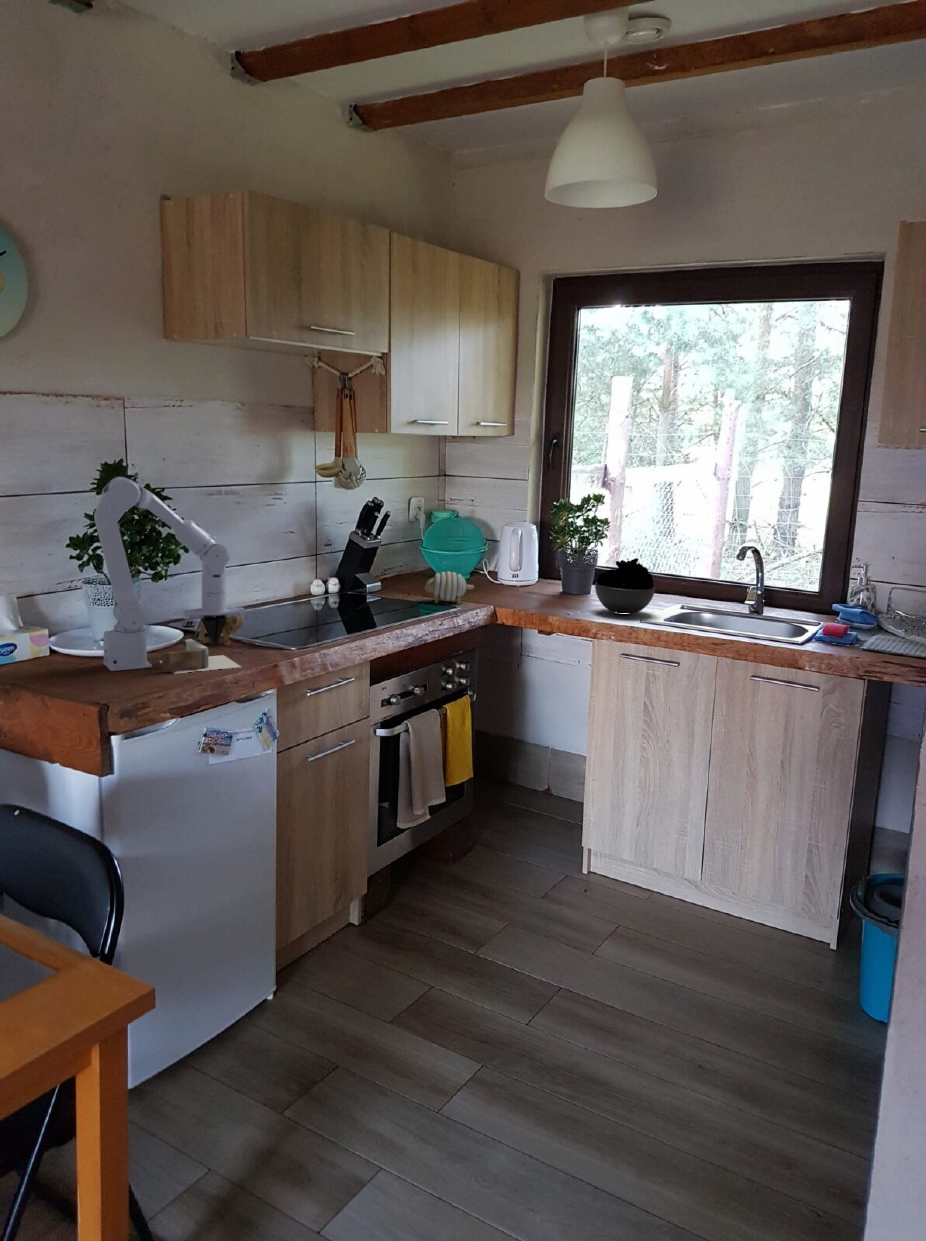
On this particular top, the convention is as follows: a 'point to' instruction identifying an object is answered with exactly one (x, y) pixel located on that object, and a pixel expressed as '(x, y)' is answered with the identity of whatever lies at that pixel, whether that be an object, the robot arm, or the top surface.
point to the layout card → (212, 664)
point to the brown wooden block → (181, 660)
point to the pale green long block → (197, 646)
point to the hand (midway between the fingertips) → (213, 646)
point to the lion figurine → (228, 629)
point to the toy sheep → (447, 586)
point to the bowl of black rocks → (625, 587)
